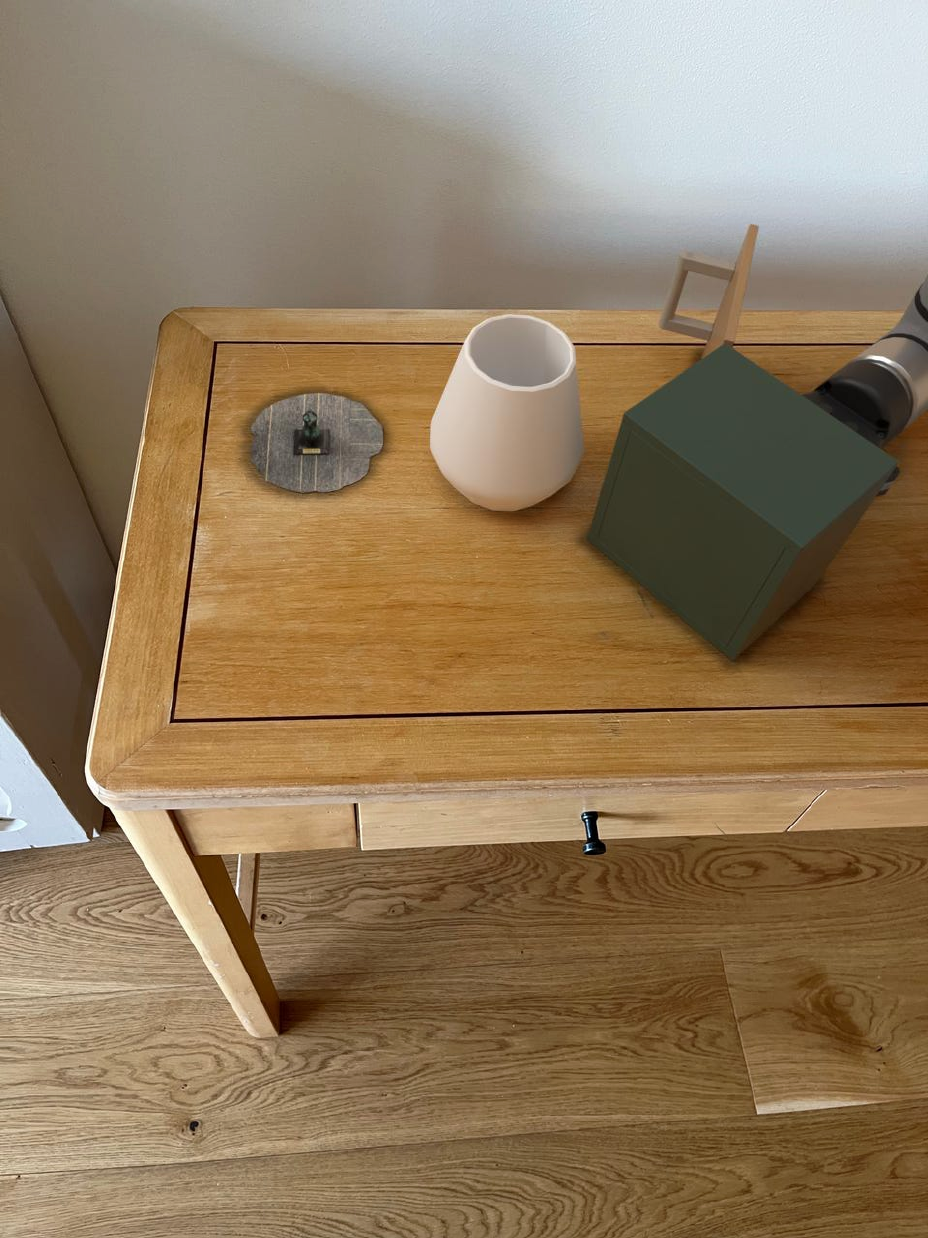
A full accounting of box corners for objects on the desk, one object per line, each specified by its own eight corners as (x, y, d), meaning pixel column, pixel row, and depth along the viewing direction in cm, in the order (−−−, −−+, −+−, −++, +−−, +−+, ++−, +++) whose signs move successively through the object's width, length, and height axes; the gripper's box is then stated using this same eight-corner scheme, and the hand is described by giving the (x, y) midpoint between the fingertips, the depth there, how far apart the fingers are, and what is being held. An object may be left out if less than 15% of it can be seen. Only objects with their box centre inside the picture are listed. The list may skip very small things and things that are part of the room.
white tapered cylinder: (397, 481, 82) (398, 359, 70) (481, 396, 88) (495, 271, 76) (525, 556, 78) (549, 440, 67) (602, 461, 85) (637, 341, 73)
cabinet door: (621, 451, 85) (660, 322, 73) (652, 341, 94) (693, 209, 82) (684, 468, 85) (734, 341, 72) (710, 356, 93) (759, 225, 81)
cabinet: (674, 472, 85) (725, 342, 72) (818, 581, 79) (899, 461, 66) (586, 539, 80) (623, 412, 67) (732, 661, 74) (802, 548, 61)
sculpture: (291, 515, 79) (248, 429, 76) (263, 505, 87) (224, 427, 84) (408, 454, 83) (372, 369, 80) (371, 450, 91) (337, 373, 88)
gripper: (936, 488, 80) (775, 637, 71) (775, 376, 86) (607, 500, 77) (983, 426, 74) (813, 581, 64) (806, 310, 80) (627, 436, 70)
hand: (701, 536), depth 71 cm, fingers closed on toy, 4 cm apart
